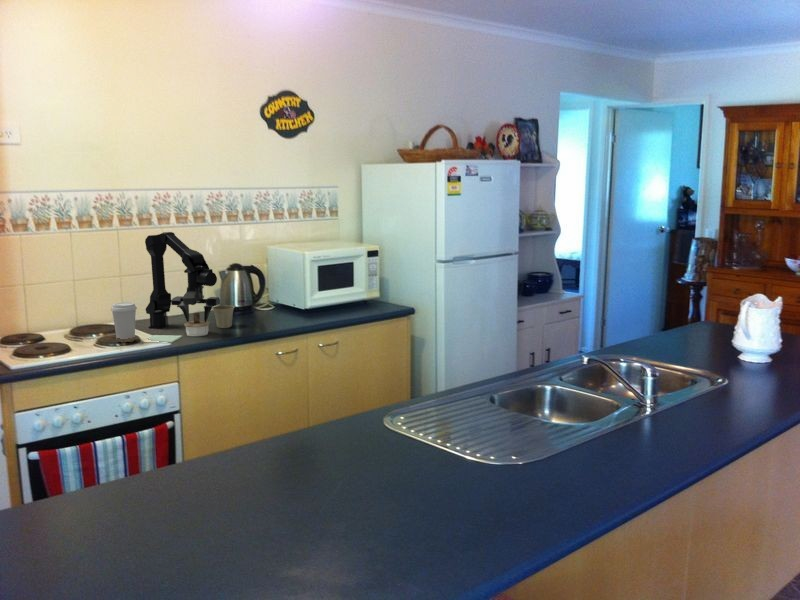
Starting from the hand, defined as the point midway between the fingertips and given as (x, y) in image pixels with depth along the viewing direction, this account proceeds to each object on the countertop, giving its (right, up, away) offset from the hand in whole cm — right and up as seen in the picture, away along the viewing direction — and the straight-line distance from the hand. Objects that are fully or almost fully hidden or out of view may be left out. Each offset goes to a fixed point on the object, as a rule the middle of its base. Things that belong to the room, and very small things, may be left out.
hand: (196, 321), depth 301 cm
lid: (0, -1, 0) cm, 1 cm away
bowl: (0, -5, +1) cm, 5 cm away
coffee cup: (-24, -8, -13) cm, 29 cm away
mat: (-11, -7, -10) cm, 16 cm away
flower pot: (+7, -3, +16) cm, 18 cm away
